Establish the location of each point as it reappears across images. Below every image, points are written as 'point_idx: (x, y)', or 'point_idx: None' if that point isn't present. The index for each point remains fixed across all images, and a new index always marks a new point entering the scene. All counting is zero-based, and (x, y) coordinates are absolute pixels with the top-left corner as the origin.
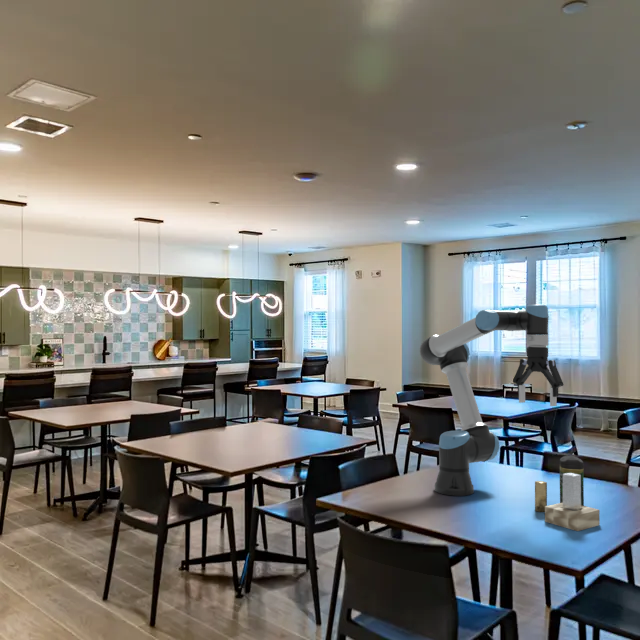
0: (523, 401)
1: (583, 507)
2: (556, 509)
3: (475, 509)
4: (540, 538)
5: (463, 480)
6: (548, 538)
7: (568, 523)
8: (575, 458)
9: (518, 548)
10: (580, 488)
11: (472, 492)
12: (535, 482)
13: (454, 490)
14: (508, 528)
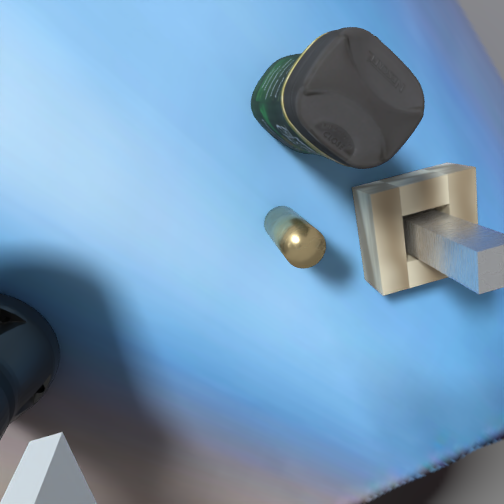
0: (76, 477)
1: (438, 195)
2: (418, 284)
3: (209, 385)
4: (447, 362)
5: (32, 375)
6: (455, 347)
7: None
8: (395, 101)
9: (466, 429)
10: (484, 228)
11: (38, 315)
12: (298, 267)
13: (48, 387)
14: (369, 388)
